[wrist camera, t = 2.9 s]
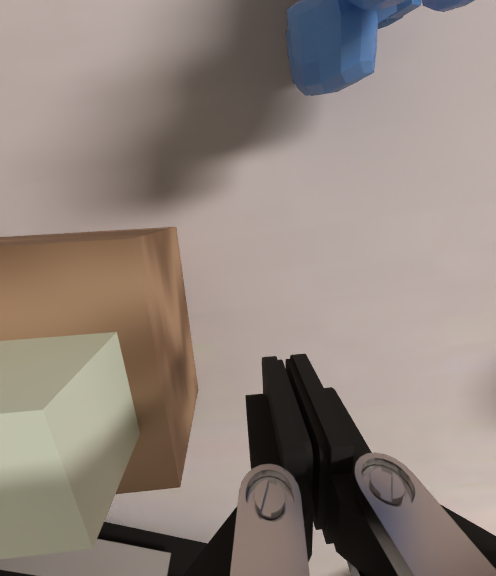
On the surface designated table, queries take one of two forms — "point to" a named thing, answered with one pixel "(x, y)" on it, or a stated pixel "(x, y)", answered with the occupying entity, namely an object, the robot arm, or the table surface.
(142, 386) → the brown box
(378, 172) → the table surface
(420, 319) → the table surface
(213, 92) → the table surface
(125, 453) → the sage block
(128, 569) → the game console
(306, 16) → the grapes
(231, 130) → the table surface
